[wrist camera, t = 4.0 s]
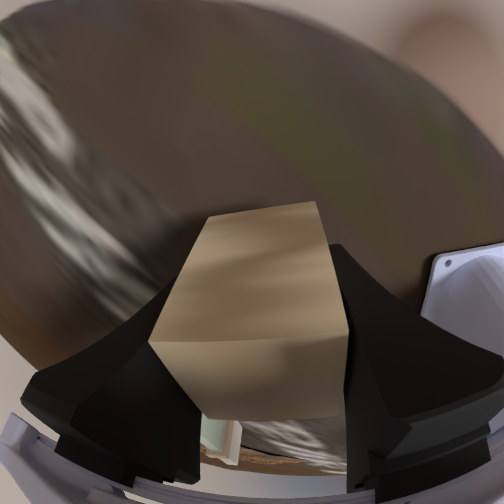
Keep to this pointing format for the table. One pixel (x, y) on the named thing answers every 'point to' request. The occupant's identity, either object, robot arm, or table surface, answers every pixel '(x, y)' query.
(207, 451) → the wall frame
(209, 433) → the door
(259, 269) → the block
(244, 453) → the wooden fragment
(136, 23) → the table surface
